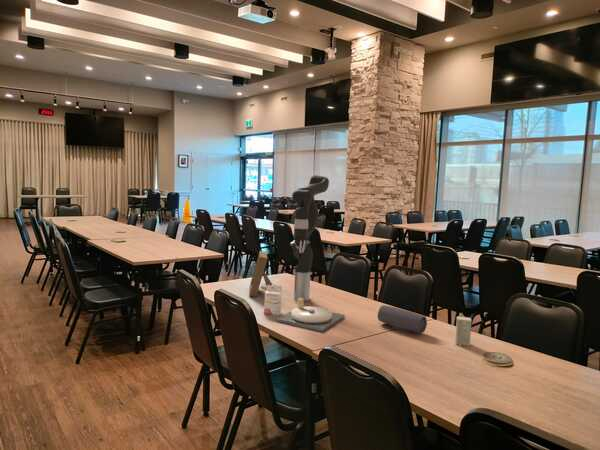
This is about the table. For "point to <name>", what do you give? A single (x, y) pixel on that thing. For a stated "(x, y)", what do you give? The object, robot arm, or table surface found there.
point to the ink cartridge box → (272, 300)
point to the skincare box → (463, 331)
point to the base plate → (312, 326)
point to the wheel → (310, 313)
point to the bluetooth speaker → (402, 319)
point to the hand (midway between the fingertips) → (299, 259)
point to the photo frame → (259, 274)
